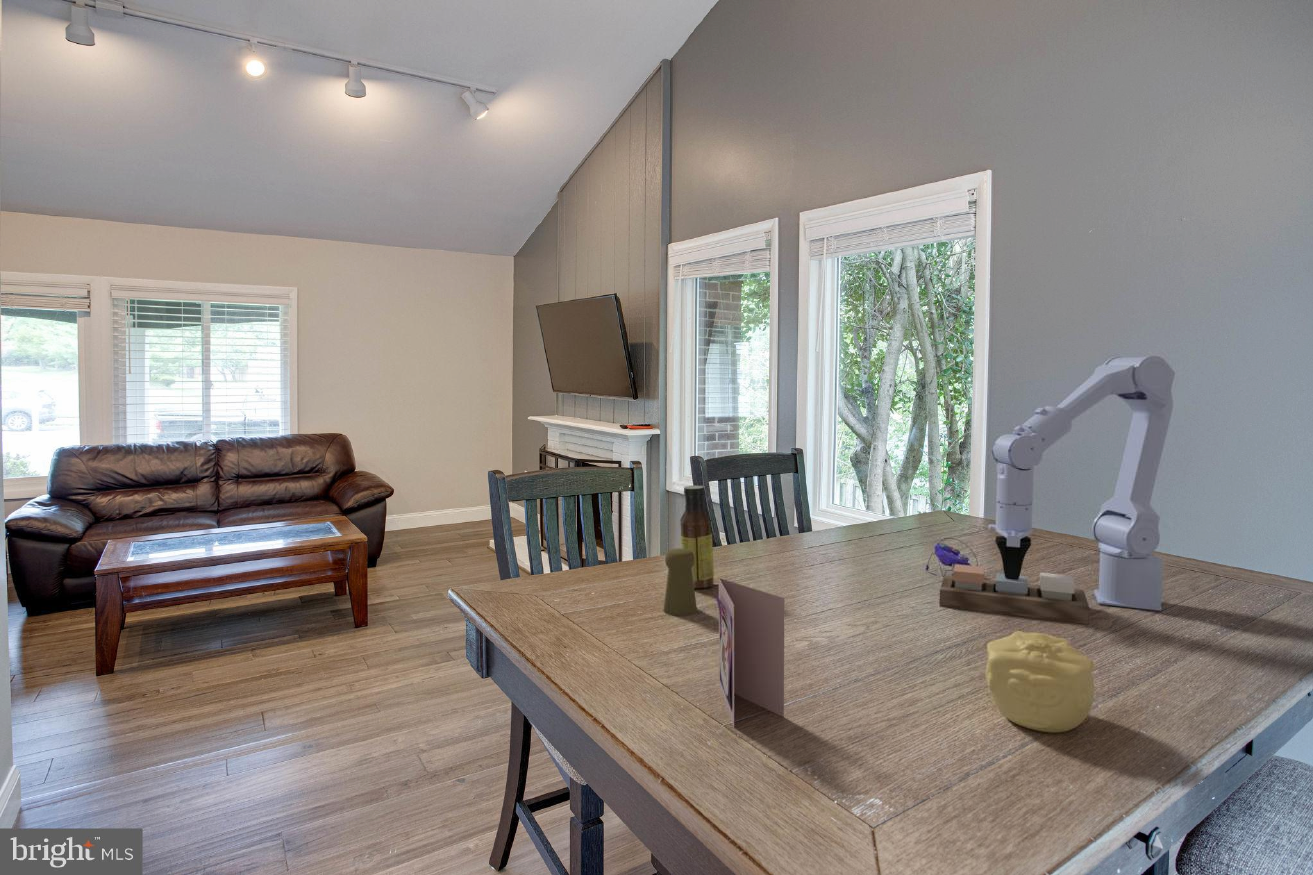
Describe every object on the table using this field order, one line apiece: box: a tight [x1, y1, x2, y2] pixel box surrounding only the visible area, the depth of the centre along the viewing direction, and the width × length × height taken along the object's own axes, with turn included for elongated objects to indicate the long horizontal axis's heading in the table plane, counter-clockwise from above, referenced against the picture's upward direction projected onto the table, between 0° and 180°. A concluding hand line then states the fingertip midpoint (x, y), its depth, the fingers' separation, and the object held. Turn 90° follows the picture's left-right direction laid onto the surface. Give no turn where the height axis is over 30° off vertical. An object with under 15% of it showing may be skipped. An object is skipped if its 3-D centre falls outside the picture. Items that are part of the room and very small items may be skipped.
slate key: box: [995, 572, 1029, 596], centre depth 129 cm, size 5×5×3 cm
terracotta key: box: [952, 564, 986, 591], centre depth 132 cm, size 5×5×3 cm
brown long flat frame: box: [938, 574, 1090, 625], centre depth 129 cm, size 23×10×3 cm, turn 64°
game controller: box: [925, 537, 979, 578], centre depth 150 cm, size 10×8×10 cm
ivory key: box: [1039, 572, 1075, 601], centre depth 126 cm, size 5×5×3 cm
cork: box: [663, 547, 698, 617], centre depth 129 cm, size 6×6×11 cm
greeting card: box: [713, 577, 785, 728], centre depth 92 cm, size 11×7×15 cm, turn 4°
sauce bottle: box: [679, 484, 715, 590], centre depth 143 cm, size 7×6×20 cm
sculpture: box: [985, 630, 1095, 734], centre depth 87 cm, size 11×12×11 cm
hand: (1011, 578), depth 129 cm, fingers closed
